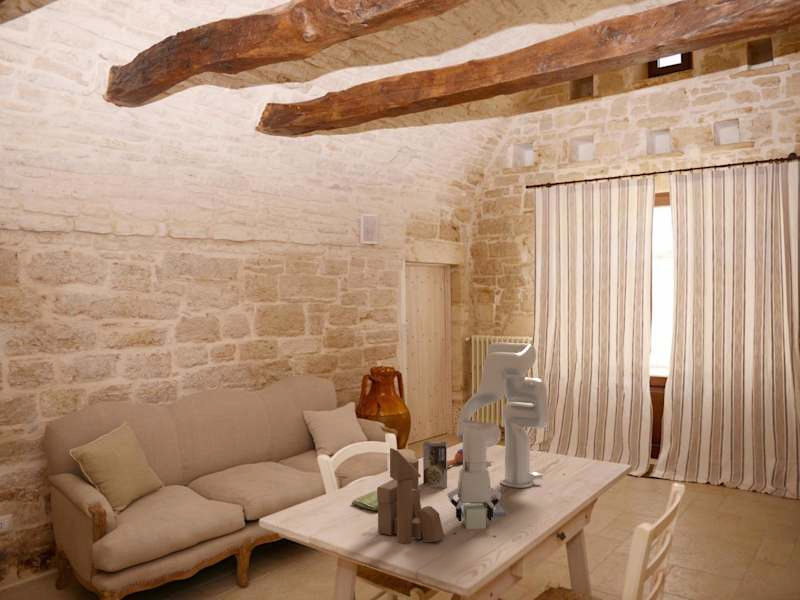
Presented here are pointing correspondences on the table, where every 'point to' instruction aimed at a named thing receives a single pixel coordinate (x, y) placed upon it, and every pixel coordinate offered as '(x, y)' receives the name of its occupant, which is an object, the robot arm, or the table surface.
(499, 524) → the table surface
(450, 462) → the kendama
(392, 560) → the table surface
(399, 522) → the wooden blocks
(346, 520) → the table surface
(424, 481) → the coffee box
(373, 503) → the washcloth
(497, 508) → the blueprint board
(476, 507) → the sage block
